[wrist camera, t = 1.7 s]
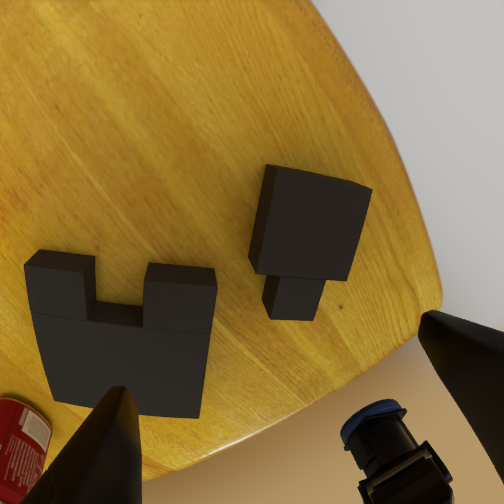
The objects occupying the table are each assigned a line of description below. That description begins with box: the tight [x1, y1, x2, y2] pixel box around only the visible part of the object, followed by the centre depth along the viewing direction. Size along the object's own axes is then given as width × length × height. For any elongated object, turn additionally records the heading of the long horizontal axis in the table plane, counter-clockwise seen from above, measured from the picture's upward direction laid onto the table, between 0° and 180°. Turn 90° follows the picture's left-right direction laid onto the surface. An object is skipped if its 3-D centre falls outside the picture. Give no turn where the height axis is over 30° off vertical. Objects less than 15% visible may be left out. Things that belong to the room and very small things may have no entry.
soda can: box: [0, 397, 52, 504], centre depth 17 cm, size 7×7×12 cm
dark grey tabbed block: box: [248, 164, 372, 321], centre depth 19 cm, size 6×9×2 cm, turn 169°
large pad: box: [24, 250, 218, 419], centre depth 20 cm, size 12×12×2 cm
